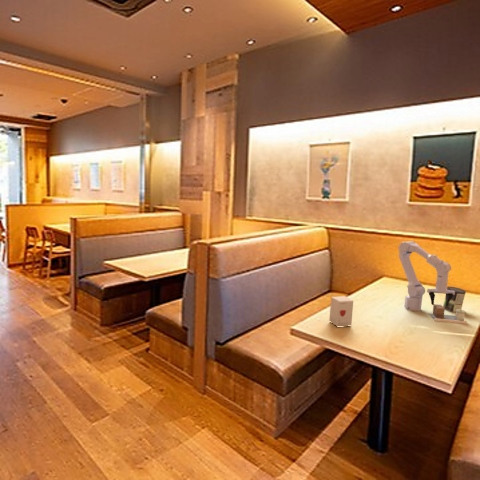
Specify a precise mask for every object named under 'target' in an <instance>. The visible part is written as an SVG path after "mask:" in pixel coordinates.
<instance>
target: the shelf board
mask: <svg viewBox="0 0 480 480" xmlns="http://www.w3.org/2000/svg"><path fill="white" fill-rule="evenodd" d="M428 315H429V316H430V318H432V320H434V322H445V323H456V324H464V325H465V324H466V325H467V323H468V322H467V320H464V321H459V320H455V317H456V315H453V314H452V315H450V314H444V318H436V317H435V316H434V315H433V313H430V312H429V313H428Z"/></svg>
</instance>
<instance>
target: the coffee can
mask: <svg viewBox="0 0 480 480" xmlns="http://www.w3.org/2000/svg"><path fill="white" fill-rule="evenodd" d="M447 290H452V291H455V295H453V297H452V299H451V300H450V301H449V304H448V306H446V305H445V301H446V295H445V296H444V300H443V305H442V306H443V307H444V308H445V311H446V312H451V313H456V310H460V309H461V310H463V309H462V307H463V304H464V301H465V296H466V293H467V291H466V290H464V289H463V288H460V287H454V286H447Z"/></svg>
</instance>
